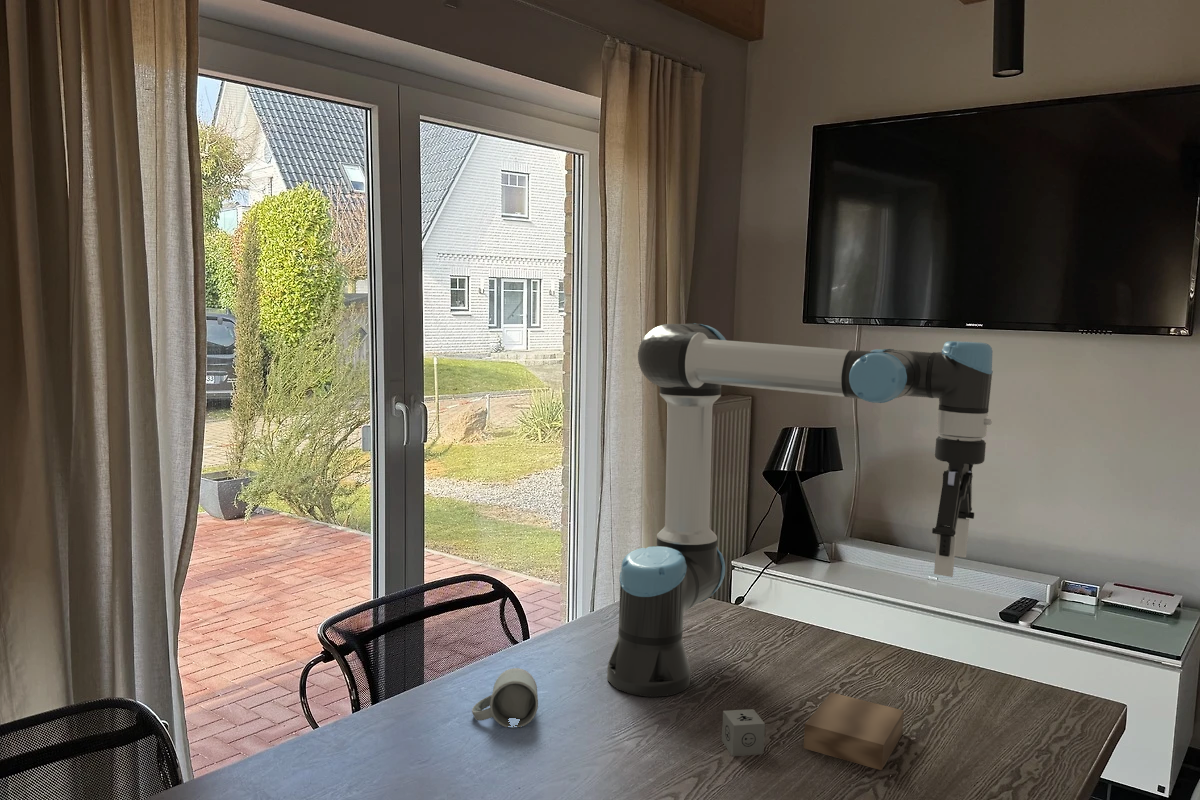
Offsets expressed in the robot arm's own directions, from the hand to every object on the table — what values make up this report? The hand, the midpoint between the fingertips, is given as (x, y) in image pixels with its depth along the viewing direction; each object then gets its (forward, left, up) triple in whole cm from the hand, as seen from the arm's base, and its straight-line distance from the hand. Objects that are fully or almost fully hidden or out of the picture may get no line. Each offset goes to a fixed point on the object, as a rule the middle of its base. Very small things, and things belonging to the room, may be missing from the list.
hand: (950, 565), depth 149 cm
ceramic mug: (-60, -40, -28) cm, 77 cm away
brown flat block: (-10, -14, -27) cm, 32 cm away
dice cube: (-24, -27, -28) cm, 45 cm away
